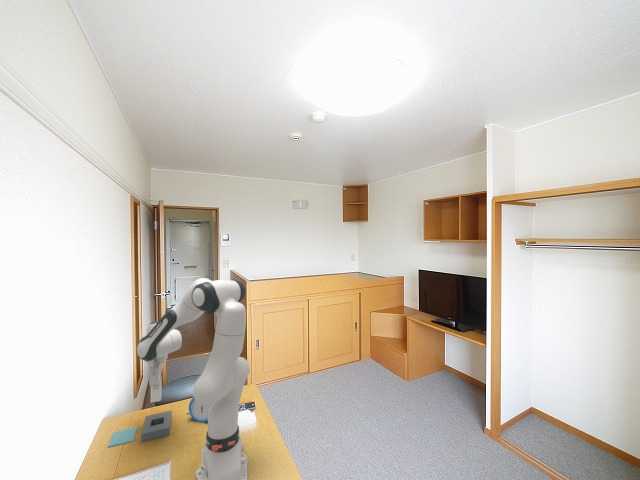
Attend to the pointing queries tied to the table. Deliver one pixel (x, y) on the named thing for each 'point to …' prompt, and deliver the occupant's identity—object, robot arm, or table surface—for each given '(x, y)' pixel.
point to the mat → (122, 437)
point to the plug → (156, 392)
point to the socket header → (156, 426)
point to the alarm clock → (198, 411)
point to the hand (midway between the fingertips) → (156, 386)
